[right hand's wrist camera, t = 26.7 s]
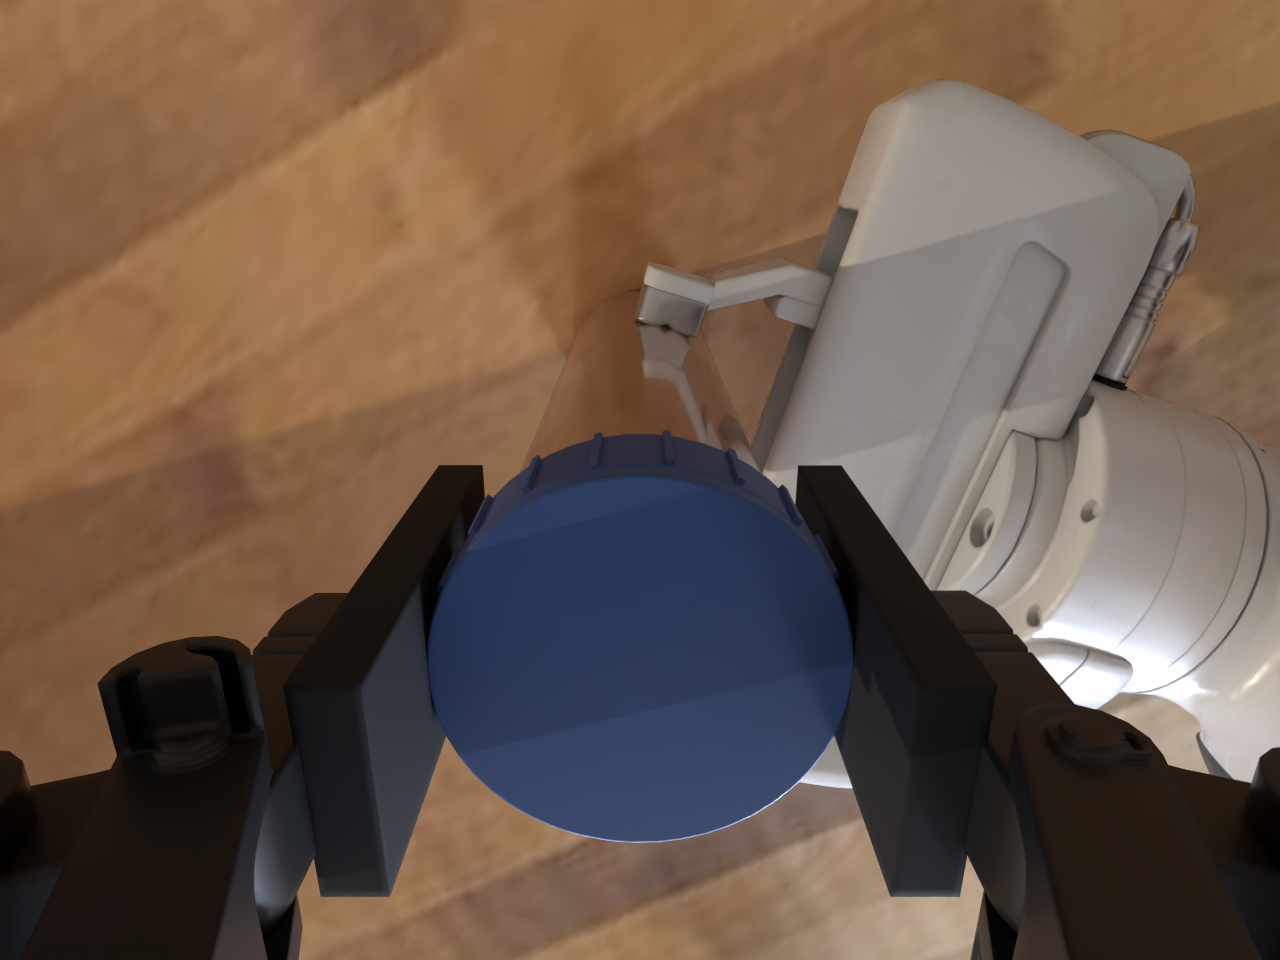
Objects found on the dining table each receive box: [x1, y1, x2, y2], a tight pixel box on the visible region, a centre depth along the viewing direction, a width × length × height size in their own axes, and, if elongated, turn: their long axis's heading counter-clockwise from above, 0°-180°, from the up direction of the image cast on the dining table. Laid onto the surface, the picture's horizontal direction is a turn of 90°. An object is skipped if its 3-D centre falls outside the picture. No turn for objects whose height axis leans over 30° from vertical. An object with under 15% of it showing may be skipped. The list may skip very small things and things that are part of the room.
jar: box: [519, 291, 761, 473], centre depth 20 cm, size 5×5×19 cm
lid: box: [427, 430, 854, 842], centre depth 11 cm, size 6×6×2 cm
